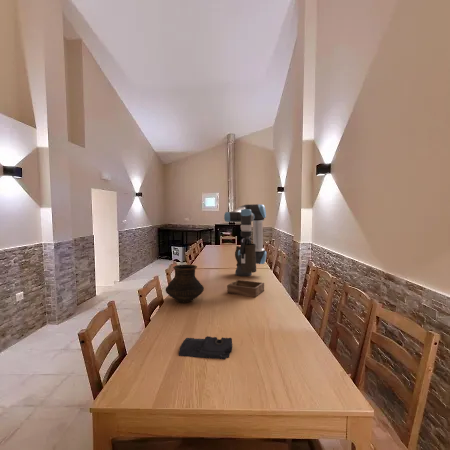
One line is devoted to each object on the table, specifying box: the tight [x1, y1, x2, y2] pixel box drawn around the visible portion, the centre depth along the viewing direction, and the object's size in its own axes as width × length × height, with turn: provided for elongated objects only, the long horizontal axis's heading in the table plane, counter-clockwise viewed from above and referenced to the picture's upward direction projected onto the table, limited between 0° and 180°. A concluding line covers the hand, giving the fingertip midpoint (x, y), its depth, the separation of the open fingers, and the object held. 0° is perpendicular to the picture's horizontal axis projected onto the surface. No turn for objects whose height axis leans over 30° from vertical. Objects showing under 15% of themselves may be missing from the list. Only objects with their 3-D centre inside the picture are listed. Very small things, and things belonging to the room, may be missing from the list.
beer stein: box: [234, 242, 257, 274], centre depth 203 cm, size 15×11×20 cm
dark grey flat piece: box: [178, 335, 233, 360], centre depth 120 cm, size 15×22×5 cm
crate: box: [226, 279, 265, 298], centre depth 205 cm, size 17×21×6 cm
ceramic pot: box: [165, 264, 205, 303], centre depth 185 cm, size 24×24×22 cm
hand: (246, 262), depth 204 cm, fingers closed on beer stein, 9 cm apart
